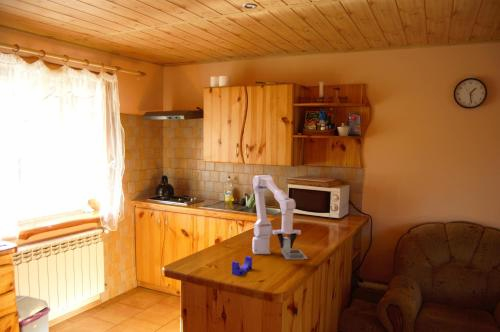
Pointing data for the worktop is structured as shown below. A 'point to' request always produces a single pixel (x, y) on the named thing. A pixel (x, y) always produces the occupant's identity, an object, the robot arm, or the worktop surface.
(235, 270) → the cable clip
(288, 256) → the grey square tray
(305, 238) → the worktop surface
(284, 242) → the cylinder
